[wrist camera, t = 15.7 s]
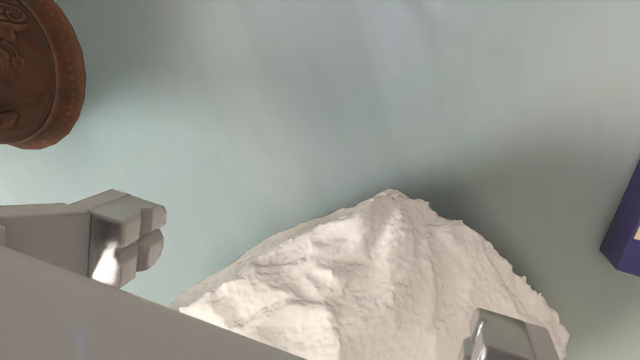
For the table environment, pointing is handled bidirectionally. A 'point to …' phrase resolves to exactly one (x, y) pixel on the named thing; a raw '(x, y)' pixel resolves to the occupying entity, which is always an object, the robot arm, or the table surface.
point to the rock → (369, 286)
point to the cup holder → (38, 74)
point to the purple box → (626, 231)
